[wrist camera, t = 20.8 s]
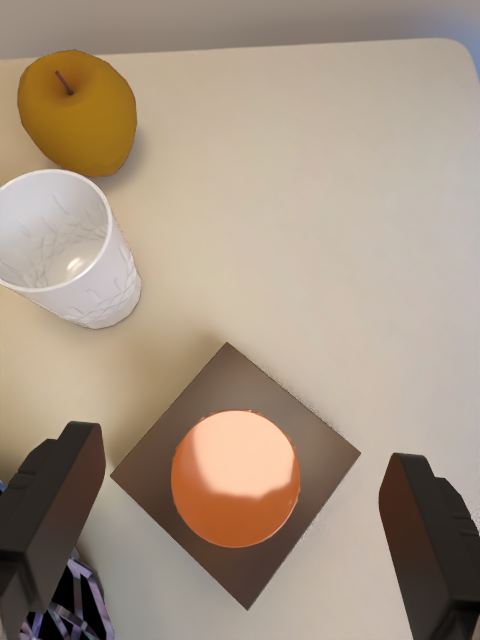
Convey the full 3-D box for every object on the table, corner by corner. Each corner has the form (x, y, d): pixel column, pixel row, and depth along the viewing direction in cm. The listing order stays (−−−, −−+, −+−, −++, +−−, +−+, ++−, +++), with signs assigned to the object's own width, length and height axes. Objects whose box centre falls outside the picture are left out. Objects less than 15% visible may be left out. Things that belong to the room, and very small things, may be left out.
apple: (145, 113, 38) (117, 18, 29) (154, 190, 35) (127, 111, 27) (52, 125, 37) (-3, 33, 29) (56, 205, 35) (-3, 129, 26)
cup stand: (353, 452, 29) (394, 457, 21) (247, 599, 26) (250, 664, 19) (227, 347, 31) (223, 317, 24) (117, 473, 29) (73, 486, 21)
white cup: (40, 265, 33) (-41, 195, 24) (131, 232, 34) (88, 151, 24) (67, 352, 31) (-10, 313, 21) (162, 314, 32) (130, 260, 22)
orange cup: (301, 459, 27) (326, 467, 19) (242, 537, 26) (243, 579, 18) (231, 398, 28) (228, 383, 20) (171, 470, 27) (143, 483, 19)
